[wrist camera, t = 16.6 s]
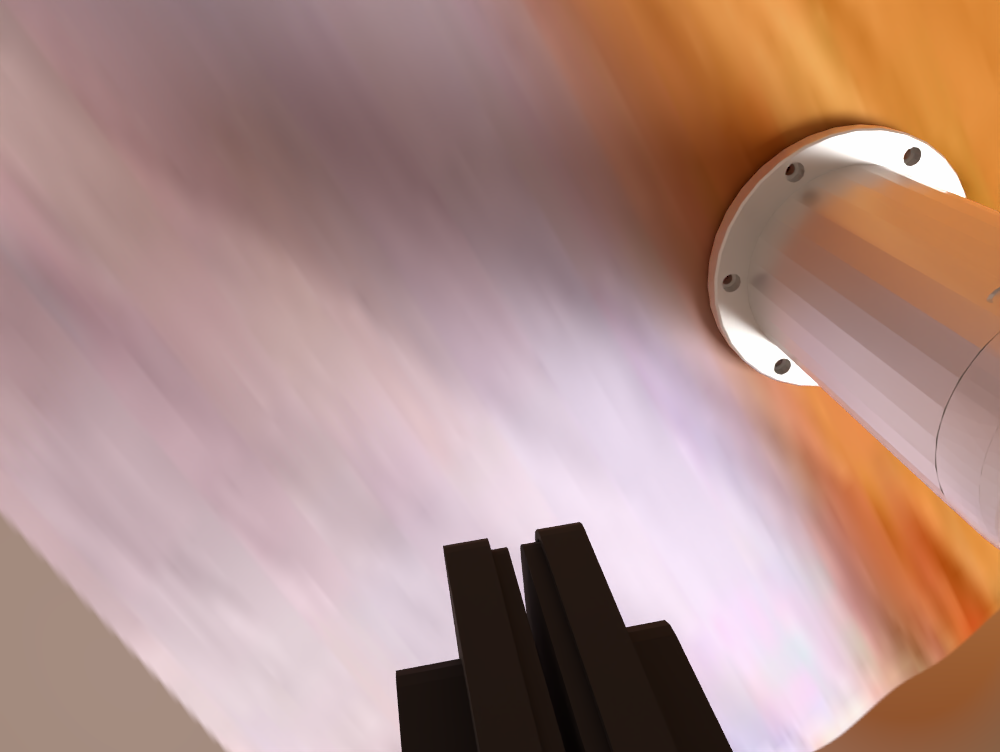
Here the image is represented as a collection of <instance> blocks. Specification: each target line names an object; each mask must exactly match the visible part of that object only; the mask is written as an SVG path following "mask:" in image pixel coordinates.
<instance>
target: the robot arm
mask: <svg viewBox="0 0 1000 752" xmlns="http://www.w3.org/2000/svg"><path fill="white" fill-rule="evenodd" d="M789 166H791V167H790V170H789V171H788V172H786V170H787V168H788V167H789ZM728 275H729V276H728ZM726 276H728V278H727V279H726V280H725V281H723V280H724V279H725V278H726ZM708 292H709V299H710V307H711V310H712V313H713V316H714V319H715V321H716V324H717V327H718V329H719V331H720V332H721V334H722V335H723V337H724V338H725V340H726V342H727V343H728V345H729V346H730V347H731V348H732V349H733V350H734V351H735V352H736V353H737V354H738V356H739V357H740V358H741V359H742V360H743V361H744V362H746V363H747V364H748V365H750V366H751V367H752V368H754V369H755V370H756V371H758V372H759V373H761V374H763V375H765V376H767V377H769V378H771V379H773V380H776V381H779V382H784V383H788V384H793V385H798V386H820V387H821V388H822V389H823V390H824V391H825V392H826V393H828V394H829V395H830V396H831V397H832V398H833V399H834V400H835V401H836V402H837V403H838V404H839V405H841V406H842V407H843V408H844V409H845V410H846V411H847V412H848V413H849V414H850V415H851V416H852V417H853V418H855V419H856V420H857V421H858V422H859V423H860V424H861V425H862V426H863V427H864V428H865V429H866V430H867V431H869V432H870V433H871V434H872V435H873V436H874V437H875V438H876V439H877V440H878V441H879V442H880V443H881V444H883V445H884V446H885V447H886V448H887V449H888V450H889V451H890V452H891V453H892V454H893V455H894V456H895V457H897V458H898V459H899V460H900V461H901V462H902V463H903V464H904V465H905V466H906V467H907V468H908V469H909V470H911V471H912V472H913V473H914V474H915V475H916V476H917V477H918V478H919V479H920V480H921V481H922V482H924V483H925V484H926V485H927V486H928V487H929V488H930V489H931V490H932V491H933V492H934V493H935V494H936V495H938V496H939V497H940V498H941V499H942V500H943V501H944V502H945V503H946V504H947V505H948V506H949V507H950V508H952V509H953V510H954V511H955V512H956V513H957V514H958V515H959V516H960V517H961V518H963V519H964V520H965V521H966V522H967V523H968V524H969V525H970V526H971V527H972V528H974V529H975V530H976V531H977V532H978V533H979V534H980V535H981V536H982V537H983V538H985V539H986V540H987V541H988V542H990V543H991V544H992V545H994V546H995V547H996V548H998V549H999V550H1000V212H998V211H996V210H993V209H991V208H989V207H986V206H984V205H981V204H979V203H977V202H974V201H972V200H969V199H967V198H966V194H965V191H964V189H963V187H962V184H961V182H960V180H959V177H958V175H957V173H956V172H955V170H954V169H953V168H952V166H951V165H950V164H949V162H948V161H947V160H946V158H945V157H944V156H943V155H942V154H941V153H939V152H938V151H937V150H936V149H934V148H933V147H932V146H931V145H929V144H928V143H927V142H925V141H923V140H921V139H918V138H916V137H914V136H912V135H910V134H908V133H905V132H902V131H899V130H895V129H892V128H888V127H885V126H876V125H863V124H857V125H850V126H842V127H834V128H831V129H828V130H825V131H822V132H819V133H816V134H813V135H810V136H808V137H806V138H804V139H802V140H800V141H798V142H796V143H795V144H793V145H791V146H789V147H787V148H785V149H784V150H782V151H781V152H780V153H779V154H777V155H776V156H775V157H773V158H772V159H771V160H770V161H768V162H767V163H766V164H764V165H763V166H762V167H761V168H760V169H759V170H758V171H757V172H756V173H755V174H754V175H753V177H752V178H751V179H750V180H749V181H748V182H747V183H746V184H745V185H744V186H743V187H742V189H741V190H740V192H739V193H738V195H737V196H736V198H735V199H734V201H733V202H732V204H731V205H730V207H729V208H728V210H727V212H726V214H725V216H724V218H723V220H722V223H721V225H720V227H719V229H718V231H717V234H716V236H715V240H714V244H713V248H712V252H711V256H710V260H709V272H708ZM443 549H444V557H445V564H446V570H447V577H448V584H449V591H450V598H451V605H452V611H453V618H454V625H455V632H456V639H457V646H458V652H459V659H456V660H451V661H445V662H440V663H435V664H430V665H424V666H419V667H414V668H408V669H403V670H398V671H396V686H397V698H398V711H399V723H400V735H401V747H402V752H733V751H732V749H731V747H730V745H729V743H728V741H727V739H726V737H725V735H724V733H723V731H722V728H721V726H720V724H719V722H718V720H717V718H716V716H715V714H714V712H713V710H712V708H711V706H710V704H709V702H708V700H707V698H706V696H705V694H704V692H703V690H702V687H701V685H700V683H699V681H698V679H697V677H696V675H695V673H694V671H693V669H692V667H691V665H690V663H689V661H688V659H687V657H686V655H685V653H684V651H683V649H682V646H681V644H680V642H679V640H678V638H677V636H676V634H675V633H674V631H673V629H672V627H671V626H670V624H669V623H667V622H666V621H665V620H663V621H657V622H652V623H647V624H641V625H636V626H631V627H625V624H624V622H623V619H622V617H621V615H620V612H619V610H618V607H617V605H616V603H615V600H614V598H613V596H612V593H611V591H610V588H609V586H608V584H607V581H606V579H605V577H604V574H603V572H602V569H601V567H600V565H599V562H598V560H597V558H596V555H595V553H594V550H593V548H592V546H591V543H590V541H589V539H588V536H587V534H586V531H585V529H584V527H583V525H582V524H581V523H580V522H577V523H572V524H566V525H560V526H554V527H549V528H543V529H537V530H536V531H535V542H534V543H528V544H522V545H521V548H520V550H521V562H522V572H523V583H524V593H525V603H526V611H525V607H524V604H523V600H522V597H521V593H520V589H519V586H518V582H517V579H516V575H515V572H514V568H513V565H512V561H511V558H510V554H509V551H508V548H507V547H505V548H500V549H494V550H491V548H490V544H489V541H488V539H487V538H486V539H480V540H474V541H468V542H463V543H457V544H451V545H446V546H443Z"/></svg>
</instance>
